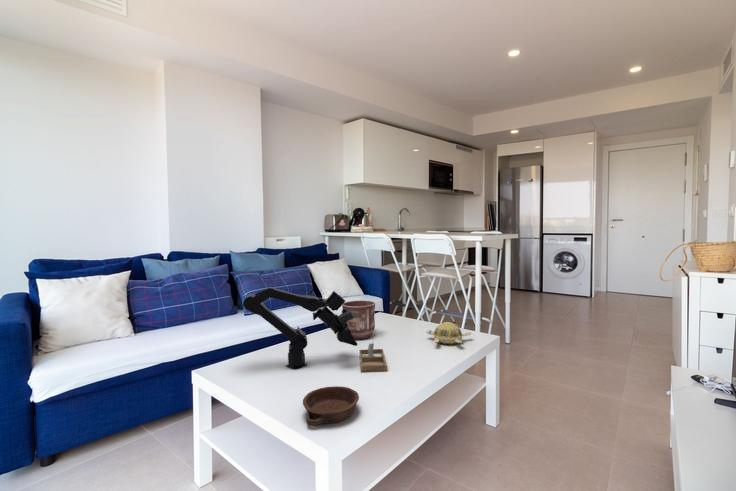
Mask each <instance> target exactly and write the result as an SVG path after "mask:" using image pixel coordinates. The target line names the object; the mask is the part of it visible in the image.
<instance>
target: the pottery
mask: <svg viewBox="0 0 736 491" xmlns="http://www.w3.org/2000/svg"><path fill="white" fill-rule="evenodd" d="M341 307H342V310H343V309H346V310H347V311H348V310H350V311H351V313H352V315H353V317H354V318H353V319H352V320H349V321H347V322H346V323H347V327H348V328H349V329H350V330H351V334H352V335H353V337H354V340H355V341H362V340H367V339H369V338H370V337H371V336H372V335H373V334H374V332H375V327H376V321H375V320H376V319H375V315H376V314H375V311H376V310H375V309H376V302H375V301H372V300H360V299H359V300H349V301H345V302H344V304H343V305H342V306H341Z"/></svg>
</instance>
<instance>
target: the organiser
mask: <svg viewBox="0 0 736 491" xmlns="http://www.w3.org/2000/svg"><path fill="white" fill-rule="evenodd" d="M359 366H360V373H361V374H362V373H383V372H385V373H386V372H388V365H387V360H386V357H385V353H384V349H383V348H373V357H369V356H368V348H366V349H359Z"/></svg>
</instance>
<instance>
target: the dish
mask: <svg viewBox="0 0 736 491" xmlns="http://www.w3.org/2000/svg"><path fill="white" fill-rule="evenodd" d="M359 400H360V396H359V392H358V391H356V390H355V389H352V388H350V387H349V386H348V387H346V386H336V385H335V386H326V387H325V386H324V387H320V388H316V389H314V390H312V391H310V392H308V393H307V394H306V395H304V397H303V399H302V405H303V407H304V409H305V410H306V411H307V415H306V424H307V425H308V426H317V425H319V424H322V423H323V424H331V423H333V424H334V423H337V422H341V421H344V420H346V419H348V418H349V417H351V416H352V414H354V412H355V410H356V406H357V403H358V401H359Z"/></svg>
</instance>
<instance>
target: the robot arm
mask: <svg viewBox="0 0 736 491" xmlns="http://www.w3.org/2000/svg"><path fill="white" fill-rule="evenodd" d="M270 298H272V299H276V300H280V301H283V302H287V303H291V304H295V305H298V306H300V307H302V308H303V309H305V310H306V311H309V312H311V313H312V320H313V321H315V320H316V319H317V318H318V319H319V320H320V321H322V322H323V323H324V324H325V325H326V327H327V328H328V329H330V330H332V332H333V333H334V334H335V335H336V339H337V340H338V342H340V343H344V344H346V345H347V344H348V345H351V346H353V347H354V346H355V347H357V346H358V345H359V344H358V342H357V340H354V337H353V335H352V334H351V330H350V329H349V328H348V327H347V323H346V322H347V321H349V320H352V319H353V318H354V317H353V315H352V313H351V311H350V310H348V311H347V310H346V309H343V308H342V309H341V313H340V314H339V315H338V314H336V313H335V311H336V312H337V311H338V310H339V309H340V308H341V307H342V305H343V304H344V303H345V302H346V300H345V299H344V298H343V297H342V296H341V294H339V293H337V292H336V291H335V290H332V292H331V293H330V295H329V296H328V297H327V298H318V296H315V295H309V294H308V295H307V294H303V295H302V294H297V293H293V292H290V291H286V290H283V289H279V288H275V287H273V286H268V287H267V288H264V289H263V290H260V291H258V292H255V293H249V294H248V295H247V296H246V297H245V298H244V299H243V303H242V305H243V308H244V309H245V310H246V311H248V312H250V313H252V314H255V315H257V316H259V317H261V318H263V319H264V320H265V321H266V322H267V323H269V325H271V326H272V327H274V328H275V329H276V330H278V332H280V333H281V334H283V335H284V336H285V338H287V340H288V341H289V342H290V343H289V344H288V352H287V364H285V367H287V368H289V369H293V370H298V369H300V368H303V367H306V366H308V363H306V356H305V355H306V354H305V350H304V349H306V348H307V346H308V337H307V335H306V332H305V331H303V330H302V329H301V328H300V327H299V326H297V328H293V327H292V326H290V325H289V324H288V323H286V322H285V321H284V320H283V319H282V318H281V317H279V316H278V315H277V314H276V313H275V312H273V311H272V310H270V309H269V308H268V307H267V305H265V303H264V302H265V301H266V300H268V299H270Z"/></svg>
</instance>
